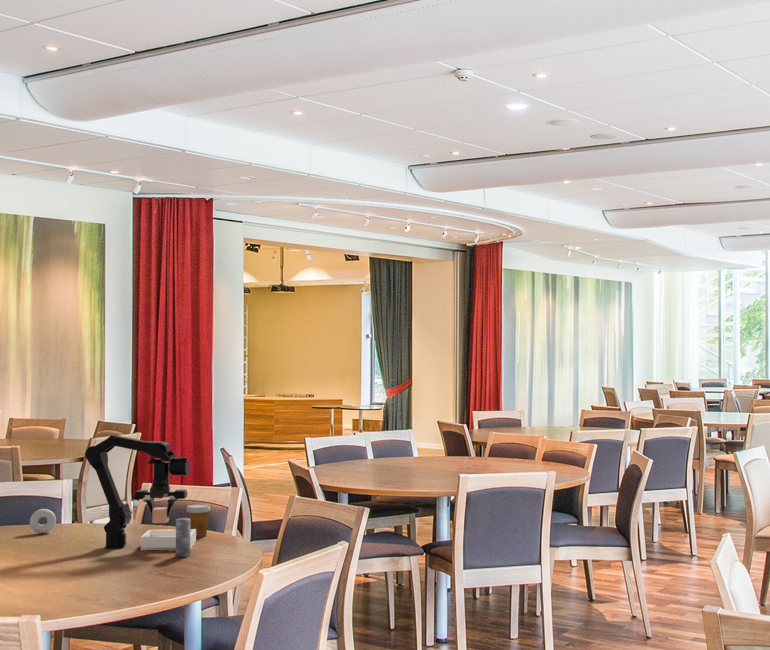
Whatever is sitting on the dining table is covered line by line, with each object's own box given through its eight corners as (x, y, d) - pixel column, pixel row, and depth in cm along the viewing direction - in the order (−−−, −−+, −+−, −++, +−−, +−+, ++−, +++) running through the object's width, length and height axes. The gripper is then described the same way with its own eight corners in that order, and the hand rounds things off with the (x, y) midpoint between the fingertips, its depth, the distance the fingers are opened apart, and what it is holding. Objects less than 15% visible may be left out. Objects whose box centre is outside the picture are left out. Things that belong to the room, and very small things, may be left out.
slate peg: (174, 557, 297) (174, 520, 298) (177, 554, 302) (177, 518, 303) (188, 557, 298) (189, 520, 298) (191, 554, 303) (191, 517, 303)
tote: (140, 551, 309) (140, 537, 309) (148, 543, 323) (148, 529, 323) (190, 550, 310) (190, 536, 310) (196, 542, 324) (196, 529, 324)
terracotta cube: (152, 523, 313) (152, 509, 313) (155, 520, 318) (155, 507, 318) (165, 523, 313) (166, 509, 313) (168, 520, 318) (168, 507, 318)
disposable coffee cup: (213, 533, 340) (213, 503, 341) (206, 538, 331) (206, 507, 331) (190, 533, 341) (190, 503, 342) (182, 538, 332) (182, 507, 332)
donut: (29, 535, 339) (29, 510, 339) (29, 533, 342) (29, 508, 343) (56, 533, 343) (56, 508, 343) (55, 531, 346) (56, 507, 346)
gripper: (130, 478, 308) (129, 521, 307) (181, 478, 309) (181, 521, 308) (138, 474, 319) (137, 516, 318) (187, 474, 320) (187, 515, 319)
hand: (160, 517), depth 315 cm, fingers closed on terracotta cube, 5 cm apart
